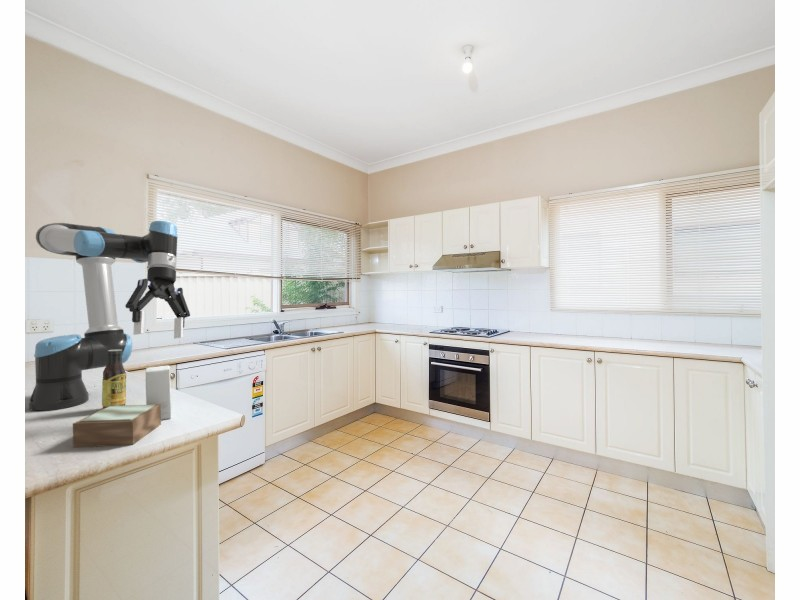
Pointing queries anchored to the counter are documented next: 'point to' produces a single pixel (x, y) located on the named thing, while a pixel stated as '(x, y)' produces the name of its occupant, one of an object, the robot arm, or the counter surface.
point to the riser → (116, 425)
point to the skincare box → (159, 389)
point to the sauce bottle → (114, 380)
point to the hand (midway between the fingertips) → (159, 336)
